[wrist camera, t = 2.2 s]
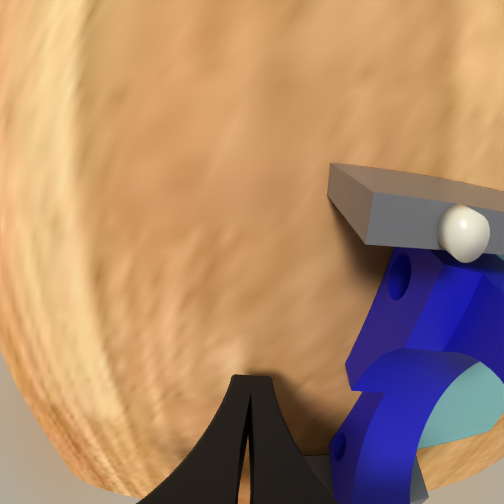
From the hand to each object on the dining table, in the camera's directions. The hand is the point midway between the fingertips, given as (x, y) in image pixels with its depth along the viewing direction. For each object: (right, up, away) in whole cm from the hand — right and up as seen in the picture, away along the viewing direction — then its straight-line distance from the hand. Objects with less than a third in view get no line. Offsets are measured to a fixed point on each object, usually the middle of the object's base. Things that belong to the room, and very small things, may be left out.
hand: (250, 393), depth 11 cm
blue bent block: (+6, 0, +1) cm, 6 cm away
